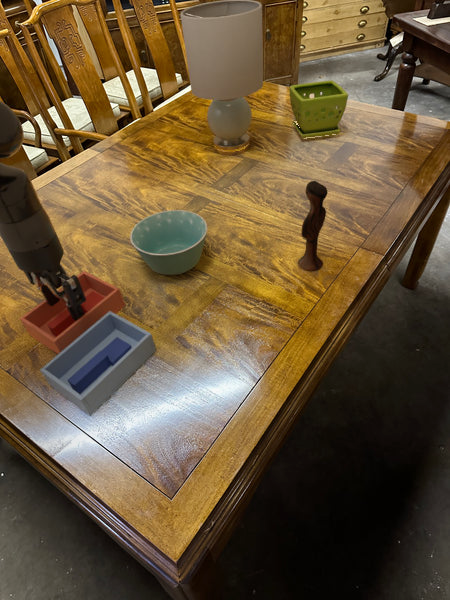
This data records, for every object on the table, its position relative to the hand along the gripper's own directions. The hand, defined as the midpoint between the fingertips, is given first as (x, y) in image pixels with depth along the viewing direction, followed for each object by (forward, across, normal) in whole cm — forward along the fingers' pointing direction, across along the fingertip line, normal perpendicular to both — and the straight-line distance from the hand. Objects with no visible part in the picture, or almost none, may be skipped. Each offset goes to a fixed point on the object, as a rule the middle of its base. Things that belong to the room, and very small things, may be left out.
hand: (66, 309), depth 77 cm
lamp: (+3, -16, +75) cm, 77 cm away
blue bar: (+3, +13, -4) cm, 14 cm away
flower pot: (+3, +2, +94) cm, 94 cm away
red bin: (+4, 0, +1) cm, 4 cm away
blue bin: (+4, +13, -4) cm, 14 cm away
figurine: (+4, +30, +38) cm, 49 cm away
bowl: (+4, +5, +24) cm, 25 cm away
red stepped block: (+3, 0, +1) cm, 4 cm away
